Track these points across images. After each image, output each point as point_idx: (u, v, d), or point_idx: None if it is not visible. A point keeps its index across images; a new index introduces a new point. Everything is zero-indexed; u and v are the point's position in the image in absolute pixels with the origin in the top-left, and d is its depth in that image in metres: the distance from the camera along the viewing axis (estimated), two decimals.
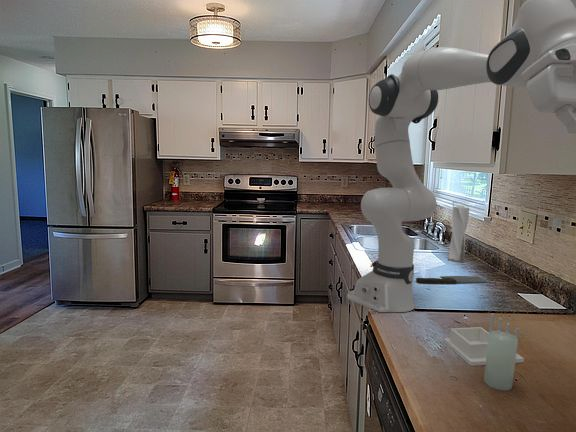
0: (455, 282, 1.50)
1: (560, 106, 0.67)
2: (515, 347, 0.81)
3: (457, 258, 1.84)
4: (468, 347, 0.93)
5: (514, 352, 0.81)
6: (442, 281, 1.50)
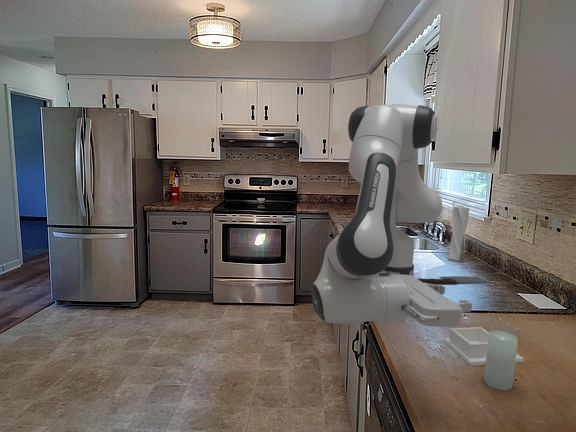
0: (455, 283, 1.50)
1: None
2: (515, 347, 0.81)
3: (457, 258, 1.84)
4: (468, 347, 0.93)
5: (514, 352, 0.81)
6: (442, 282, 1.49)
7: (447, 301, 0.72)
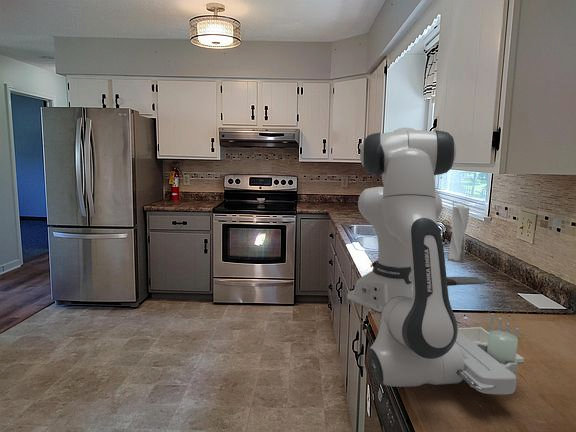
0: (455, 283, 1.49)
1: None
2: (515, 347, 0.81)
3: (457, 258, 1.84)
4: None
5: (514, 352, 0.81)
6: None
7: (500, 367, 0.76)
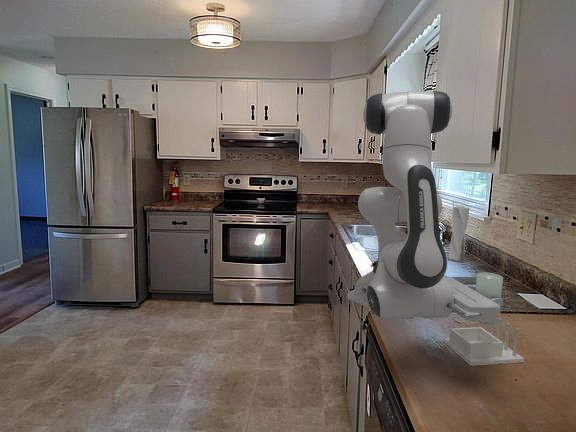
0: None
1: None
2: (500, 284, 0.89)
3: (457, 258, 1.84)
4: (468, 347, 0.93)
5: (499, 289, 0.89)
6: None
7: (486, 299, 0.84)
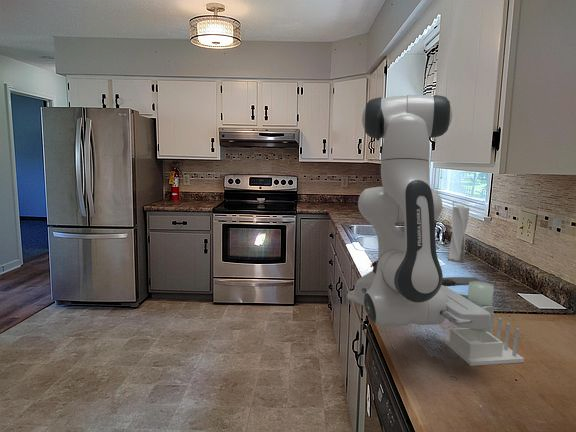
0: (454, 284, 1.49)
1: None
2: (491, 293, 0.93)
3: (457, 258, 1.84)
4: (468, 347, 0.93)
5: (490, 297, 0.93)
6: None
7: (477, 307, 0.88)
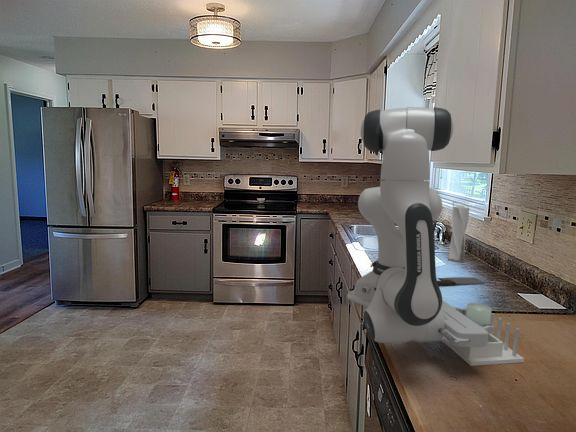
0: (454, 284, 1.48)
1: None
2: (489, 316, 0.94)
3: (457, 258, 1.84)
4: (468, 347, 0.93)
5: (488, 320, 0.94)
6: (441, 283, 1.47)
7: (475, 325, 0.89)
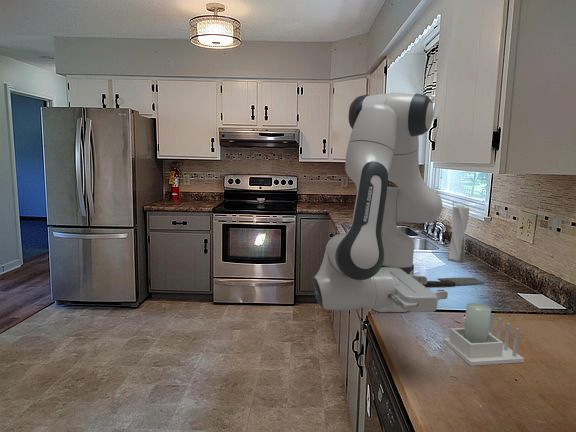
0: (454, 285, 1.48)
1: None
2: (488, 316, 0.94)
3: (457, 258, 1.84)
4: (468, 347, 0.93)
5: (487, 320, 0.94)
6: (442, 284, 1.47)
7: (426, 290, 0.86)
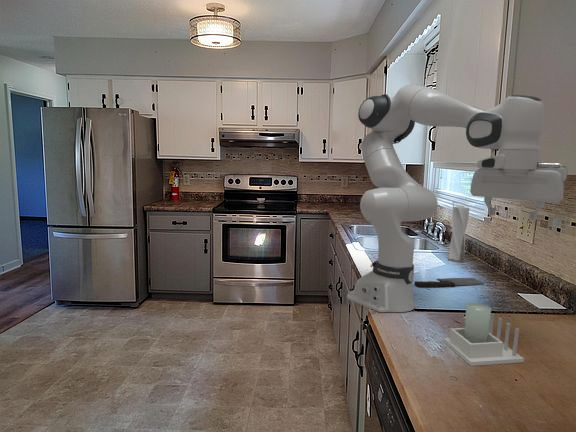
0: (454, 285, 1.47)
1: (482, 196, 1.02)
2: (488, 316, 0.94)
3: (457, 258, 1.84)
4: (468, 347, 0.93)
5: (487, 320, 0.94)
6: (441, 284, 1.46)
7: None
